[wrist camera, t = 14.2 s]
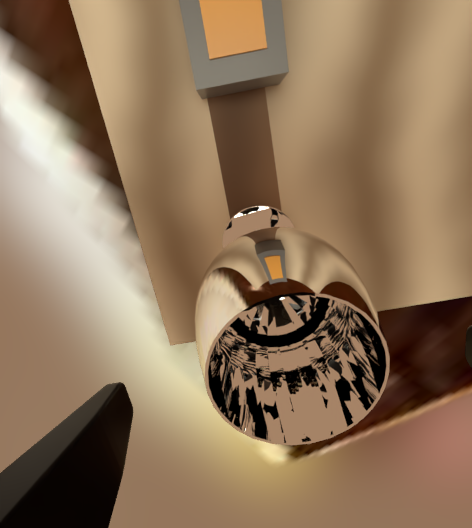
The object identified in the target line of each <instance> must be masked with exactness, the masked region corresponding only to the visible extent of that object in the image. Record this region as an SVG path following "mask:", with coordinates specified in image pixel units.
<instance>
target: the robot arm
mask: <svg viewBox="0 0 472 528" xmlns="http://www.w3.org/2000/svg"><path fill="white" fill-rule="evenodd" d="M465 356H466V359H467V361H468V363H469V365H470V366H471V368H472V326H470V327H468V329H467V332H466V347H465ZM132 418H133V407H132V404H131V401H130V398H129V396H128V393H127V390H126V387H125V385H124V384H123V383H121V382H119V383H113V384H108V385H106V386H105V387H103V388H102V389H101V390H100V391H98V392H97V393H96V394H95V395H94V396H93V397H91V398H90V399H89V400H88V401H86V402H85V403H84V404H83V405H82V406H81V407H79V408H78V409H77V410H76V411H74V412H73V413H72V414H71V415H70V416H68V417H67V418H66V419H65V420H64V421H62V422H61V423H60V424H59V425H58V426H56V427H55V428H54V429H53V430H52V431H50V432H49V433H48V434H47V435H46V436H44V437H43V438H42V439H41V440H40V441H39V442H37V443H36V444H35V445H34V446H32V447H31V448H30V449H29V450H27V451H26V452H25V453H24V454H23V455H21V456H20V457H19V458H18V459H17V460H16V461H14V462H13V463H12V464H11V465H10V466H8V467H7V468H6V469H5V470H3V471H2V472H1V473H0V528H108V527H109V523H110V519H111V515H112V512H113V508H114V505H115V501H116V498H117V494H118V490H119V486H120V483H121V479H122V475H123V469H124V465H125V459H126V454H127V448H128V442H129V436H130V430H131V423H132Z"/></svg>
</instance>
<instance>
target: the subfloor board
mask: <svg viewBox="0 0 472 528" xmlns="http://www.w3.org/2000/svg"><path fill="white" fill-rule="evenodd" d="M281 1H282V11H283V20H284V30H285V40H286V49H287V59H288V68H289V73H288V74H287V75H286V76H285V78H284V79H283V80H282V82H281V83H280V84H278V85H273V86H268V87H263V88H258V89H253V90H247V91H242V92H237V93H232V94H227V95H222V96H216V97H211V98H206V99H202V98H201V97H200V95H199V94H198V92H197V91H196V87H195V82H194V77H193V72H192V66H191V61H190V56H189V51H188V46H187V40H186V35H185V30H184V25H183V20H182V15H181V9H180V4H179V0H69V2H70V6H71V9H72V12H73V16H74V19H75V23H76V26H77V29H78V33H79V36H80V40H81V43H82V46H83V50H84V53H85V57H86V60H87V63H88V67H89V70H90V74H91V77H92V80H93V84H94V87H95V91H96V94H97V97H98V101H99V104H100V108H101V111H102V114H103V118H104V121H105V125H106V128H107V131H108V135H109V138H110V142H111V145H112V148H113V152H114V155H115V159H116V162H117V165H118V169H119V172H120V176H121V179H122V182H123V186H124V189H125V193H126V196H127V199H128V203H129V206H130V210H131V213H132V216H133V220H134V223H135V227H136V230H137V233H138V237H139V240H140V244H141V247H142V250H143V254H144V257H145V261H146V264H147V267H148V271H149V274H150V278H151V281H152V284H153V288H154V291H155V295H156V298H157V301H158V305H159V308H160V312H161V315H162V318H163V322H164V325H165V329H166V332H167V335H168V339H169V342H170V345H175V344H181V343H188V342H194V341H196V338H195V321H194V318H195V306H196V299H197V294H198V290H199V286H200V283H201V281H202V278H203V276H204V274H205V272H206V270H207V269H208V267H209V265H210V264H211V262H212V261H213V259H214V258H215V257H216V256H217V254H218V253H219V252H220V251H221V250H222V249H223V248H222V237H223V232H224V229H225V227H226V225H227V223H228V221H229V220H230V219H231V218H232V217H233V216H234V215H235V214H236V213H237V212H239V211H240V210H242V209H244V208H246V207H249V206H253V205H268V206H271V207H275V208H277V209H279V210H281V211H282V212H283V213H284V214H286V215H287V216H288V217H289V219H290V220H291V221H292V223H293V225H294V227H295V229H299V230H302V231H306V232H309V233H311V234H313V235H315V236H317V237H319V238H321V239H323V240H325V241H327V242H328V243H330V244H331V245H333V246H334V247H335V248H336V249H337V250H339V251H340V252H341V253H342V254H343V256H344V257H345V258H346V259H347V260H348V261H349V262H350V263H351V264H352V266H353V267H354V269H355V270H356V272H357V273H358V275H359V276H360V278H361V279H362V281H363V283H364V284H365V286H366V288H367V290H368V292H369V294H370V296H371V299H372V301H373V303H374V305H375V308H376V311H383V310H389V309H395V308H401V307H407V306H413V305H419V304H425V303H431V302H437V301H444V300H450V299H456V298H462V297H468V296H472V0H281Z"/></svg>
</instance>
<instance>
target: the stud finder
mask: <svg viewBox="0 0 472 528" xmlns="http://www.w3.org/2000/svg"><path fill="white" fill-rule="evenodd" d="M179 4H180V9H181V15H182V20H183V25H184V30H185V35H186V40H187V46H188V51H189V56H190V61H191V66H192V72H193V77H194V82H195V87H196V91H197V92H198V94H199V95H200V97H201V98H202V99H206V98H211V97H216V96H222V95H227V94H232V93H237V92H242V91H247V90H253V89H258V88H263V87H268V86H273V85H278V84H280V83H281V82H282V80H283V79H284V78H285V76H286V75H287V74H288V73H289V68H288V59H287V49H286V40H285V30H284V20H283V11H282V1H281V0H179Z"/></svg>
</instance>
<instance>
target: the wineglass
mask: <svg viewBox="0 0 472 528" xmlns="http://www.w3.org/2000/svg"><path fill="white" fill-rule="evenodd" d="M222 248H223V249H222V250H221V251H220V252H219V253H218V254H217V256H216V257H215V258H214V259H213V261H212V262H211V264H210V265H209V267H208V269H207V270H206V272H205V274H204V276H203V278H202V281H201V283H200V286H199V290H198V294H197V299H196V306H195V318H194V321H195V338H196V346H197V351H198V356H199V361H200V366H201V369H202V372H203V376H204V380H205V385H206V389H207V393H208V395H209V397H210V400H211V402H212V404H213V406H214V408H215V409H216V410H217V412H218V413H219V414H220V415H221V417H222V418H223V419H224V420H225V421H226V422H227V423H229V424H230V425H231V426H232V427H234V428H235V429H236V430H237V431H239V432H241V433H243V434H245V435H247V436H249V437H251V438H253V439H257V440H261V441H264V442H268V443H272V444H282V445H299V444H309V443H314V442H318V441H321V440H325V439H328V438H331V437H333V436H335V435H338V434H340V433H342V432H344V431H346V430H348V429H350V428H351V427H352V426H354V425H355V424H357V423H358V422H359V421H360V420H362V419H363V418H364V417H365V416H366V415H367V414H368V413H369V412H370V411H371V410H372V409H373V407H374V406H375V404H376V403H377V402H378V400H379V399H380V397H381V395H382V393H383V391H384V389H385V386H386V383H387V379H388V375H389V361H390V357H389V353H388V348H387V343H386V339H385V335H384V332H383V328H382V325H381V322H380V319H379V316H378V313H377V311H376V308H375V305H374V303H373V301H372V299H371V296H370V294H369V292H368V290H367V288H366V286H365V284H364V283H363V281H362V279H361V278H360V276H359V275H358V273H357V272H356V270H355V269H354V267H353V266H352V264H351V263H350V262H349V261H348V260H347V259H346V258H345V257H344V256H343V254H342V253H341V252H340V251H339V250H337V249H336V248H335V247H334V246H333V245H331V244H330V243H328V242H327V241H325V240H323V239H321V238H319V237H317V236H315V235H313V234H311V233H309V232H306V231H302V230H299V229H295V227H294V225H293V223H292V221H291V220H290V219H289V217H288V216H287V215H286V214H284V213H283V212H282V211H281V210H279V209H277V208H275V207H271V206H268V205H253V206H249V207H246V208H244V209H242V210H240V211H239V212H237V213H236V214H235V215H234V216H233V217H232V218H231V219H230V220H229V221H228V223H227V225H226V227H225V229H224V232H223V237H222Z"/></svg>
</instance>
